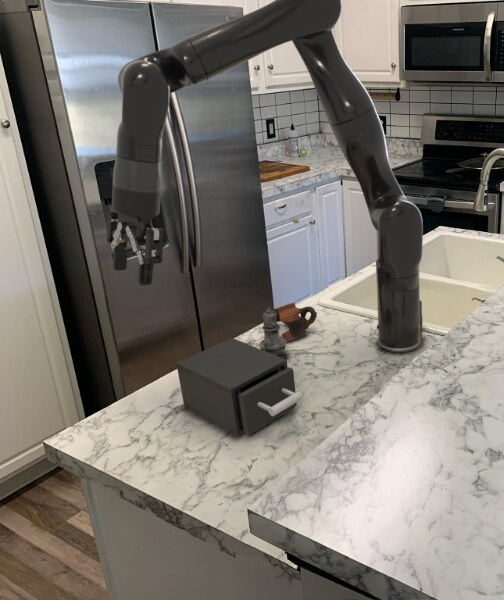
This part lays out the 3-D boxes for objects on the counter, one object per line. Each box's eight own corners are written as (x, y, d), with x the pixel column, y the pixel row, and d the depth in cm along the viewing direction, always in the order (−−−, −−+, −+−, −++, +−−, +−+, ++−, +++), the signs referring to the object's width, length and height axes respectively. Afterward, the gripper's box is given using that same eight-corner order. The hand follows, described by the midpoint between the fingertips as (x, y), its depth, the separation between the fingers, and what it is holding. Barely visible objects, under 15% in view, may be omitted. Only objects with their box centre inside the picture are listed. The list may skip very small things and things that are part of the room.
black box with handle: (314, 413, 110) (311, 376, 107) (266, 445, 102) (261, 405, 99) (246, 382, 121) (241, 347, 118) (197, 408, 113) (190, 371, 110)
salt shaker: (282, 365, 129) (276, 313, 124) (256, 363, 130) (249, 311, 125) (292, 352, 134) (287, 302, 129) (266, 350, 135) (261, 300, 130)
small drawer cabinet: (291, 404, 115) (286, 359, 111) (237, 437, 105) (230, 389, 102) (238, 380, 123) (232, 337, 120) (184, 408, 114) (176, 363, 111)
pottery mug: (272, 348, 137) (259, 313, 137) (275, 347, 146) (263, 315, 147) (323, 328, 139) (310, 294, 139) (322, 329, 148) (310, 297, 148)
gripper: (181, 195, 102) (173, 287, 106) (136, 177, 110) (131, 263, 114) (138, 194, 96) (132, 292, 101) (94, 175, 104) (90, 266, 108)
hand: (131, 276), depth 107 cm, fingers open, 8 cm apart
